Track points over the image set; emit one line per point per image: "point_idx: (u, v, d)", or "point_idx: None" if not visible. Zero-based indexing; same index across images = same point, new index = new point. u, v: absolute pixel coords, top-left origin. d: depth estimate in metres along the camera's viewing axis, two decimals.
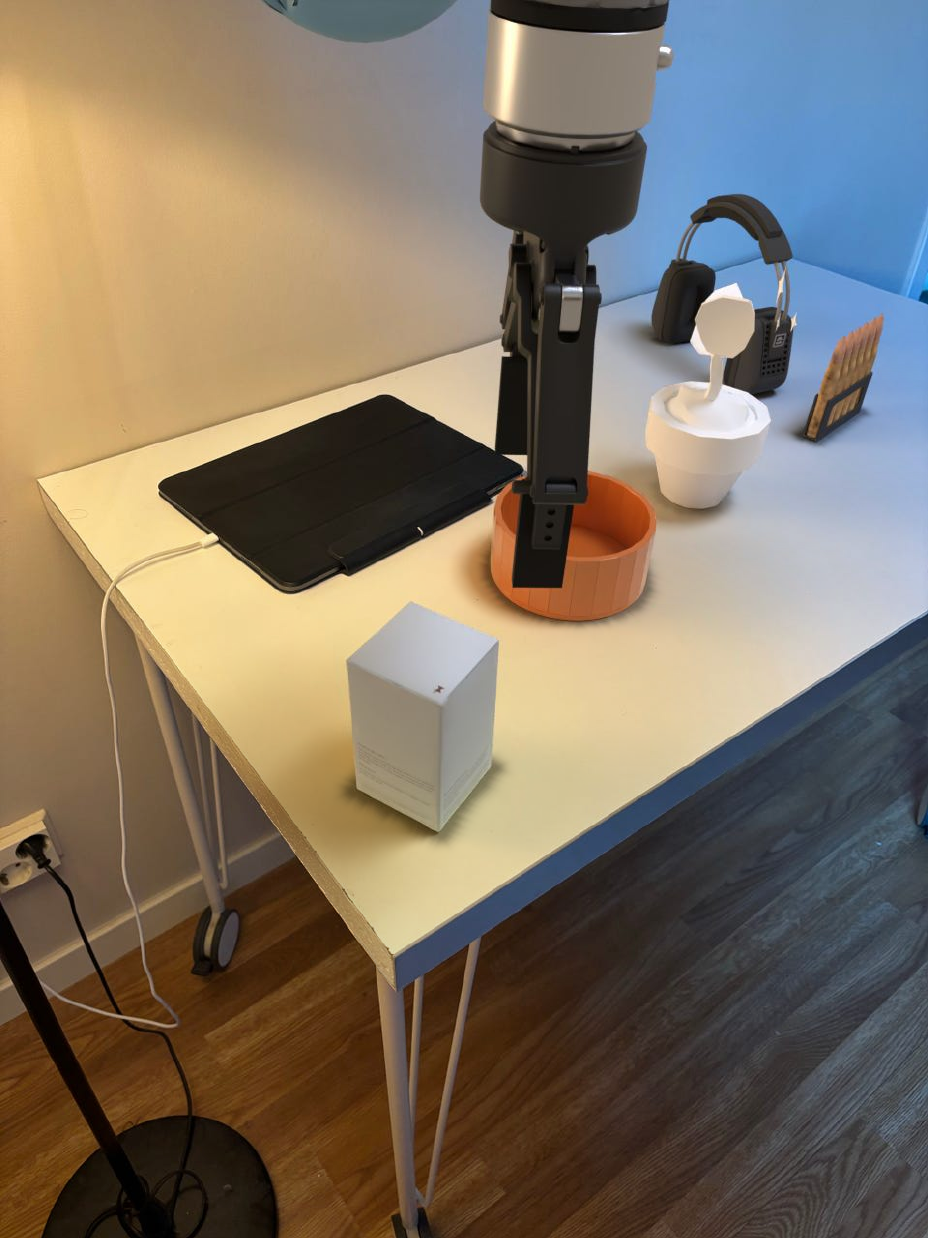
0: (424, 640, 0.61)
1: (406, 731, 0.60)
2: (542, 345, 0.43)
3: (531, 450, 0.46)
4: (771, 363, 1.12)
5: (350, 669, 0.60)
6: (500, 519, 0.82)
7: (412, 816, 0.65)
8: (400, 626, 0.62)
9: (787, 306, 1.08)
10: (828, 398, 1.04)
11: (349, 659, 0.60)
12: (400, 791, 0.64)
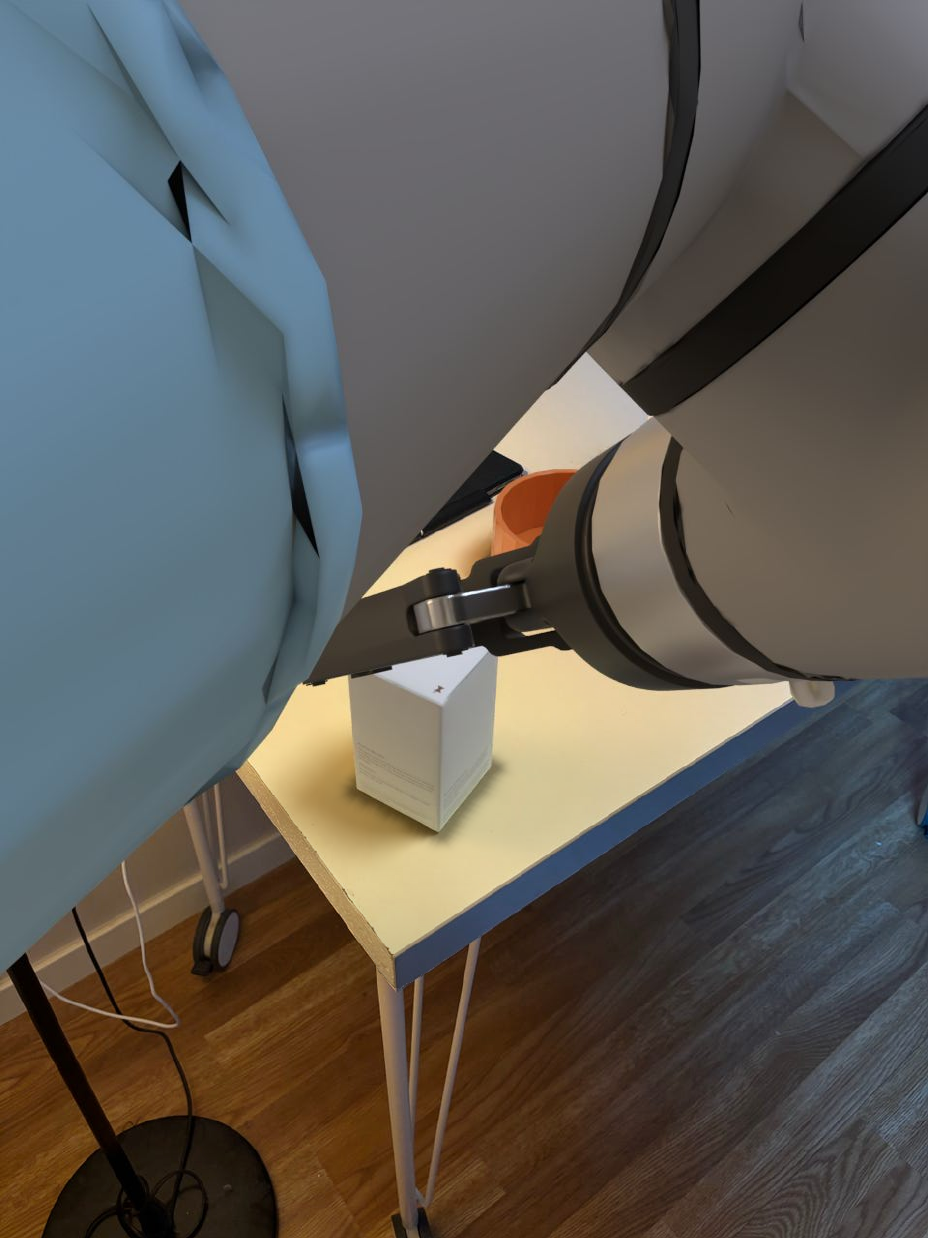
0: None
1: (406, 731, 0.60)
2: (398, 588, 0.30)
3: None
4: None
5: None
6: (500, 519, 0.82)
7: (412, 816, 0.65)
8: None
9: None
10: None
11: None
12: (400, 791, 0.64)
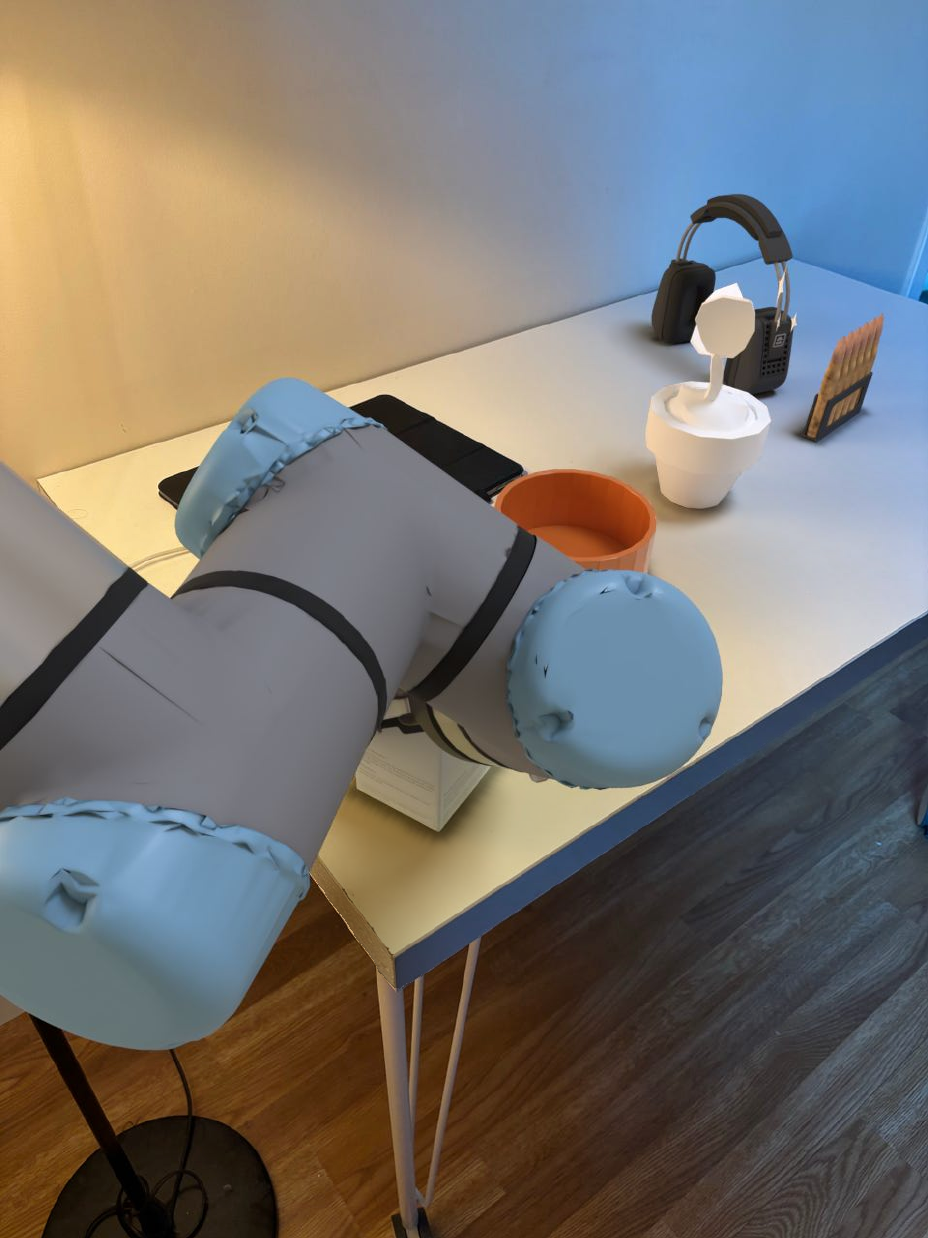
0: None
1: None
2: None
3: None
4: (771, 363, 1.12)
5: None
6: None
7: (412, 816, 0.65)
8: None
9: (787, 306, 1.08)
10: (828, 398, 1.04)
11: None
12: (400, 790, 0.64)
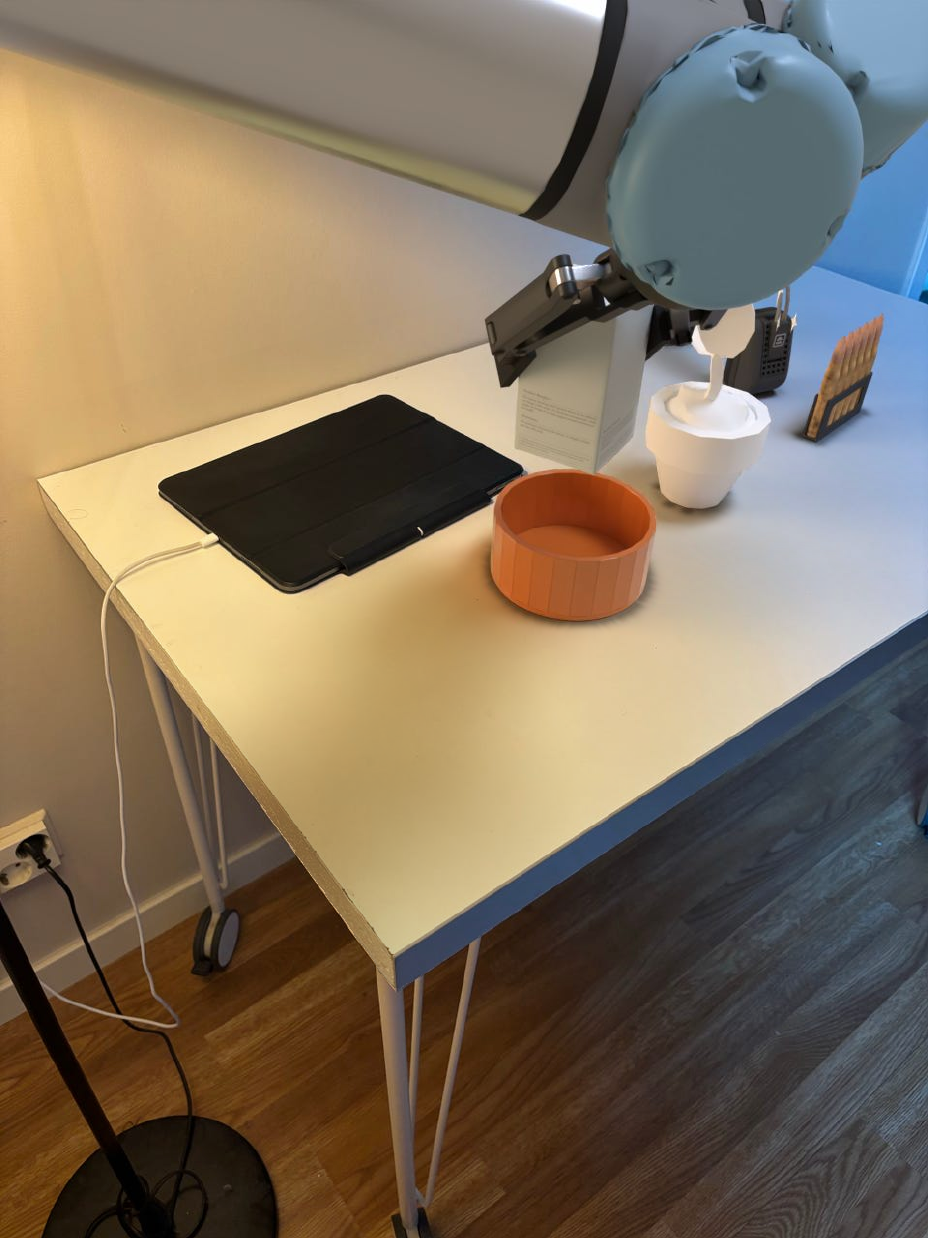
0: None
1: (576, 359, 0.67)
2: (541, 275, 0.59)
3: None
4: (771, 363, 1.12)
5: None
6: (500, 519, 0.82)
7: (569, 463, 0.72)
8: None
9: (787, 306, 1.08)
10: (828, 398, 1.04)
11: None
12: (561, 434, 0.71)
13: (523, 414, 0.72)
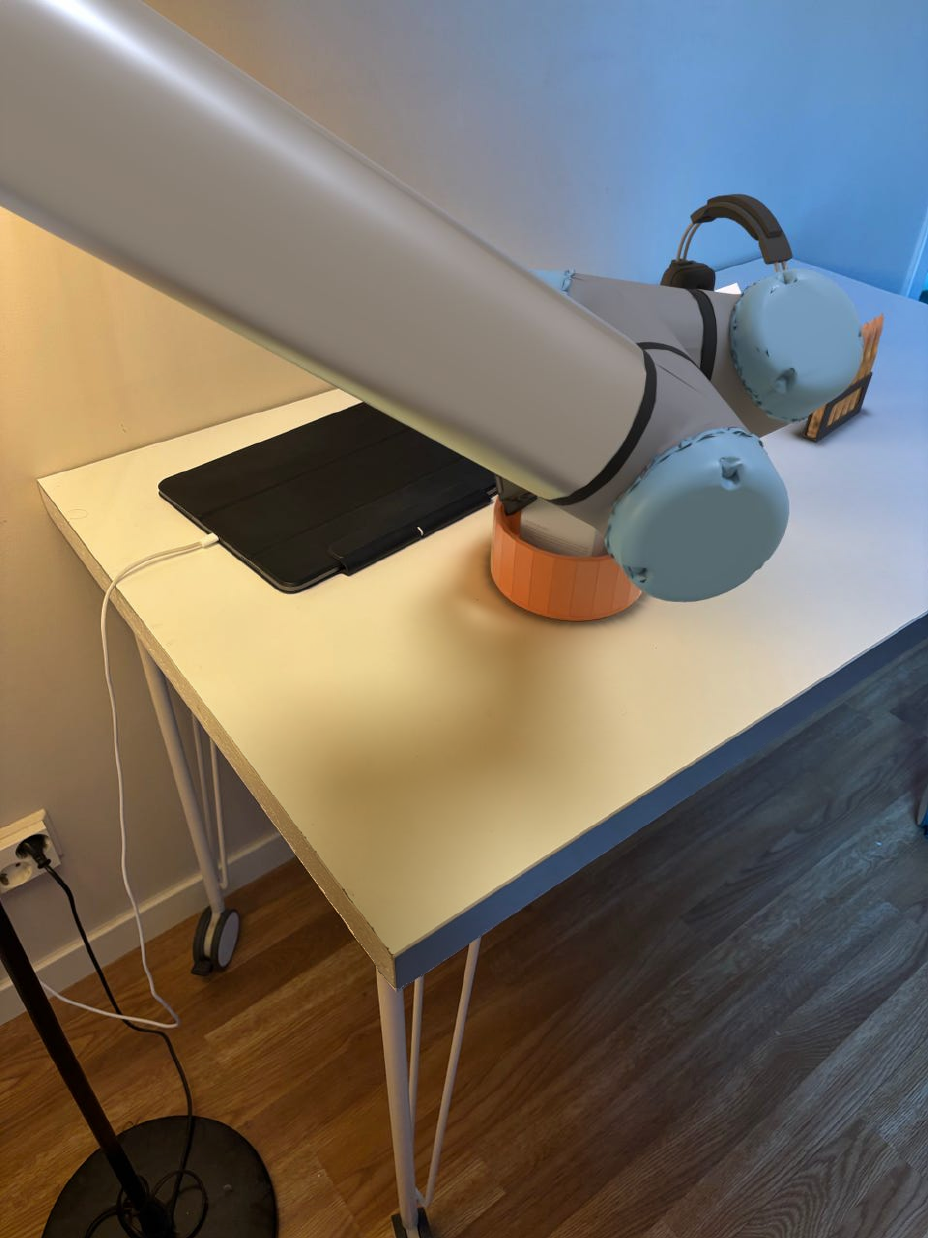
0: None
1: None
2: None
3: None
4: None
5: None
6: (500, 519, 0.82)
7: None
8: None
9: None
10: None
11: None
12: None
13: (525, 539, 0.84)
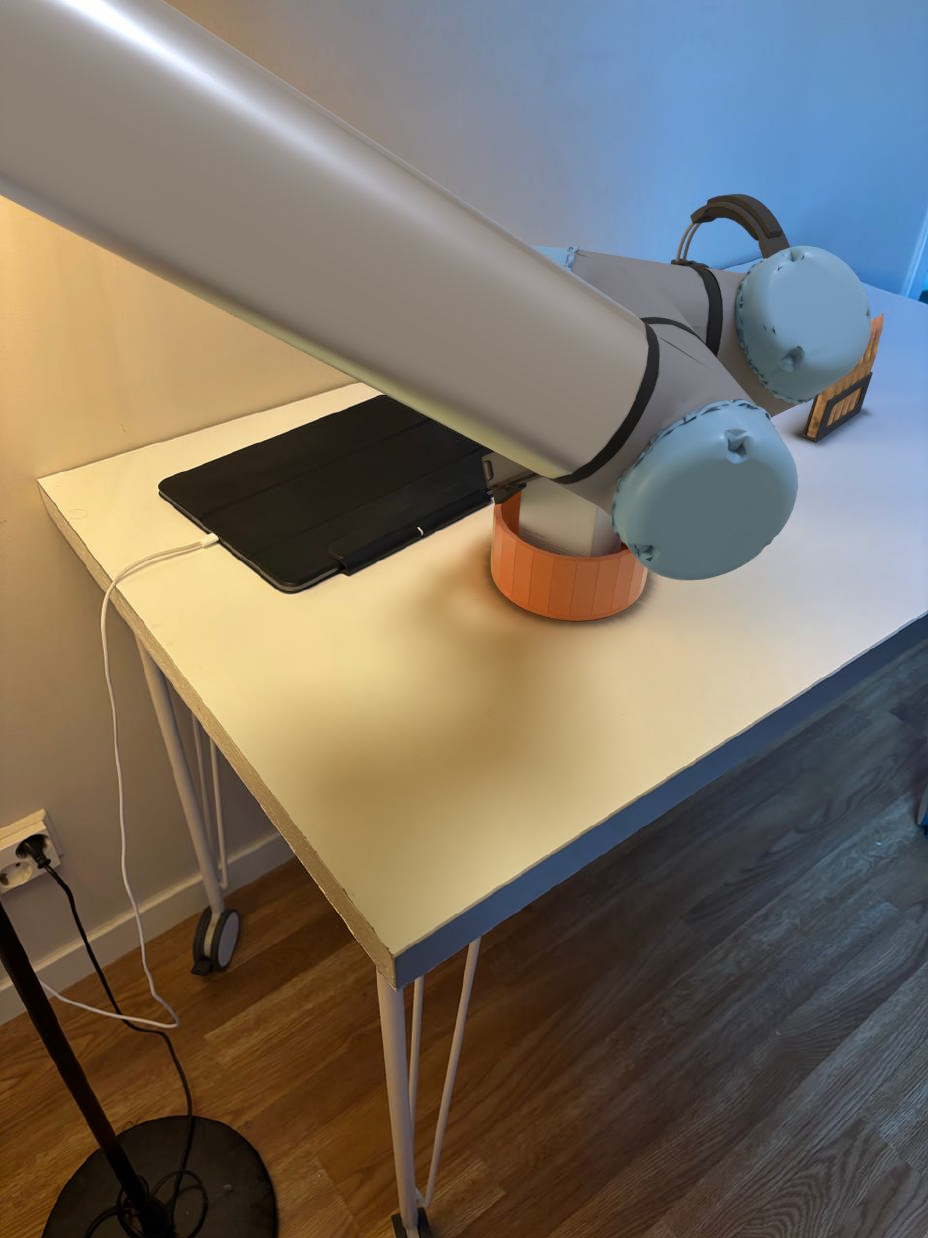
0: None
1: (568, 509, 0.79)
2: None
3: None
4: None
5: None
6: (500, 519, 0.82)
7: None
8: None
9: None
10: (828, 398, 1.04)
11: None
12: None
13: None
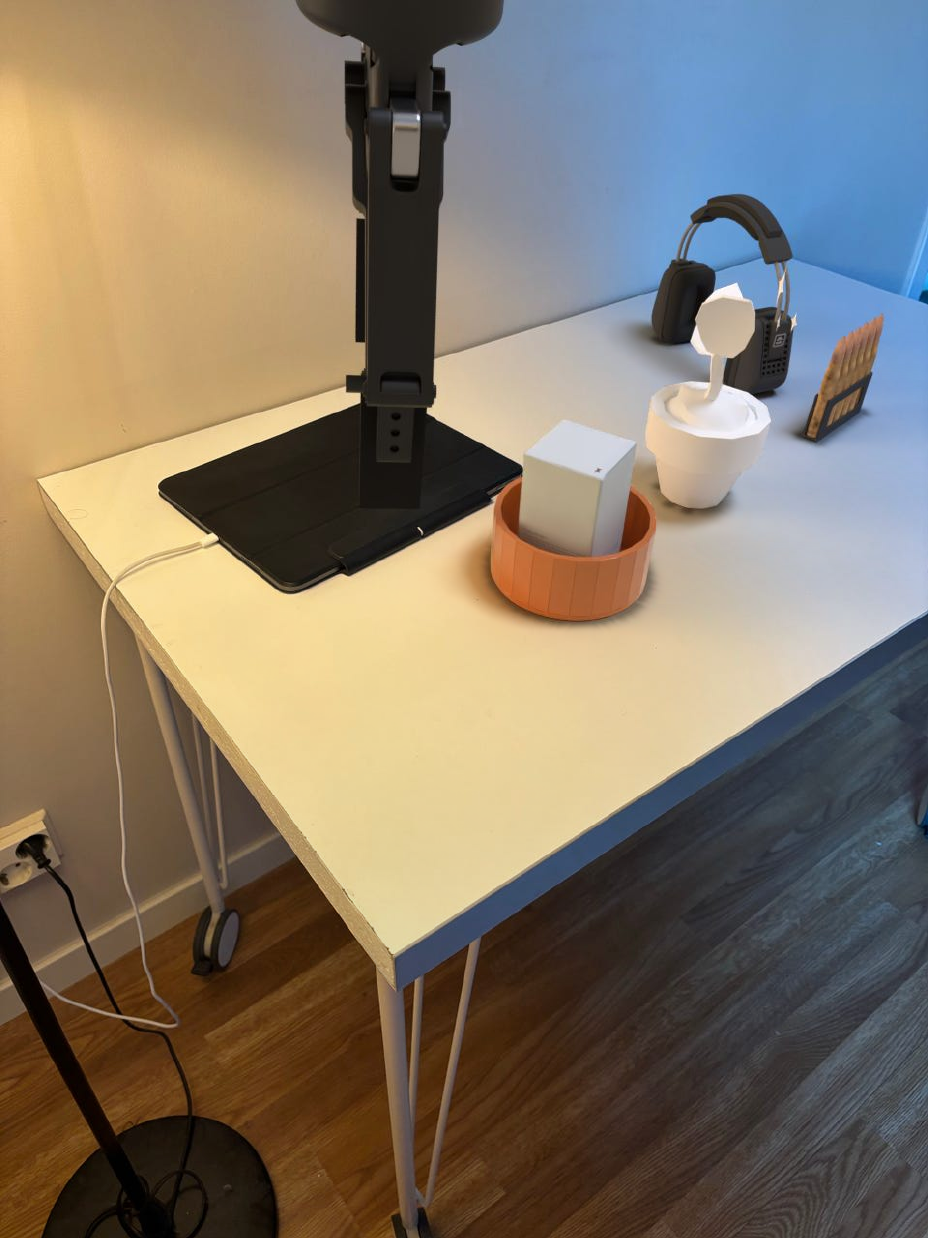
0: (580, 441, 0.80)
1: (568, 509, 0.79)
2: (370, 193, 0.32)
3: (367, 336, 0.36)
4: (771, 363, 1.12)
5: (526, 460, 0.79)
6: (500, 519, 0.82)
7: None
8: (560, 433, 0.81)
9: (787, 306, 1.08)
10: (828, 398, 1.04)
11: (526, 452, 0.78)
12: None
13: None
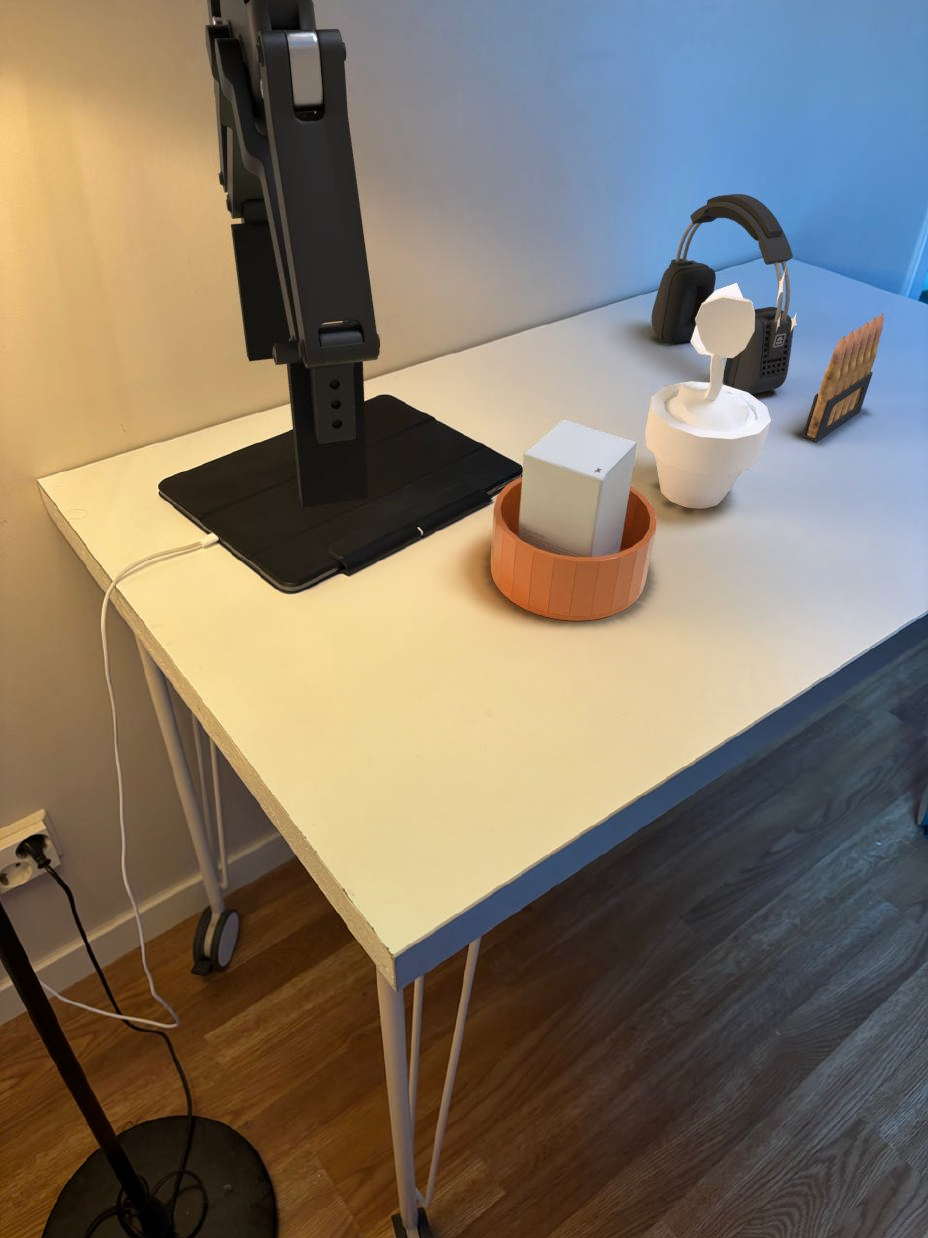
0: (580, 441, 0.80)
1: (568, 509, 0.79)
2: (275, 127, 0.29)
3: (290, 298, 0.33)
4: (771, 363, 1.12)
5: (526, 460, 0.79)
6: (500, 519, 0.82)
7: None
8: (560, 433, 0.81)
9: (787, 306, 1.08)
10: (828, 398, 1.04)
11: (526, 452, 0.78)
12: None
13: None
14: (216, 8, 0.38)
